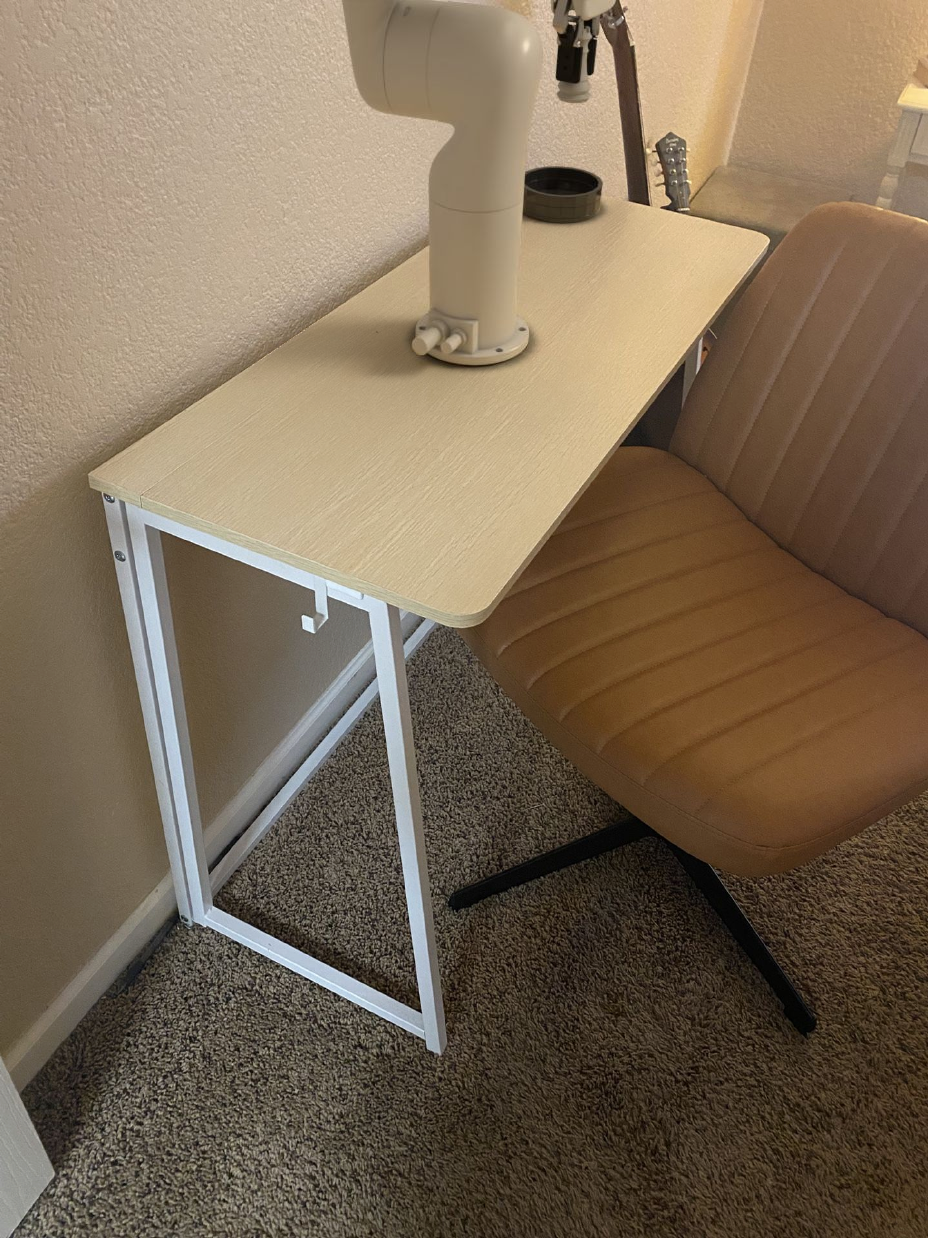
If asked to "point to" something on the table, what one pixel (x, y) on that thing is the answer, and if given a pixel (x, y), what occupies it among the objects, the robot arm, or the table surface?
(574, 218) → the pan
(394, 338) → the table surface
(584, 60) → the rook chess piece
